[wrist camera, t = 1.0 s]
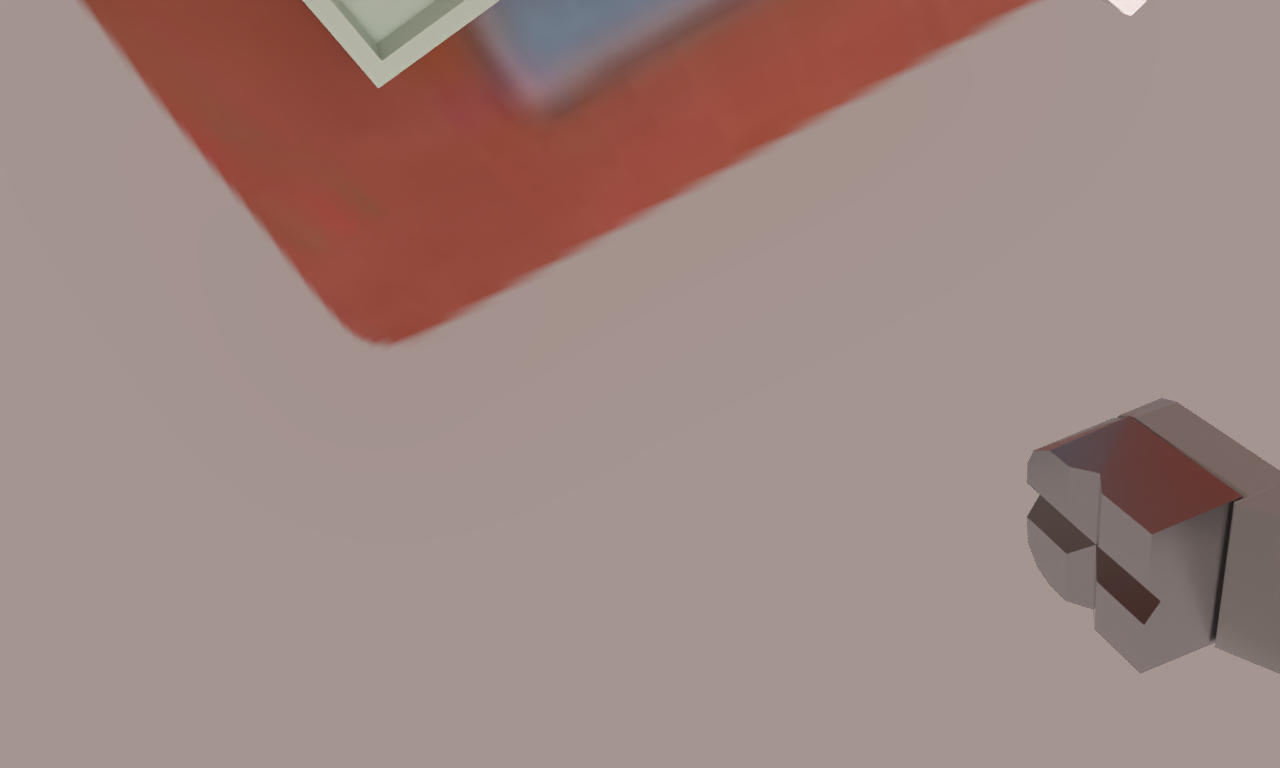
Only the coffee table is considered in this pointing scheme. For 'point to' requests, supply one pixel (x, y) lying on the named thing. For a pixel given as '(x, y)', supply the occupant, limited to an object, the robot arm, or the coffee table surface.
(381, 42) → the tray
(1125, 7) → the cylinder with rectangular tab
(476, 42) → the coffee table surface
